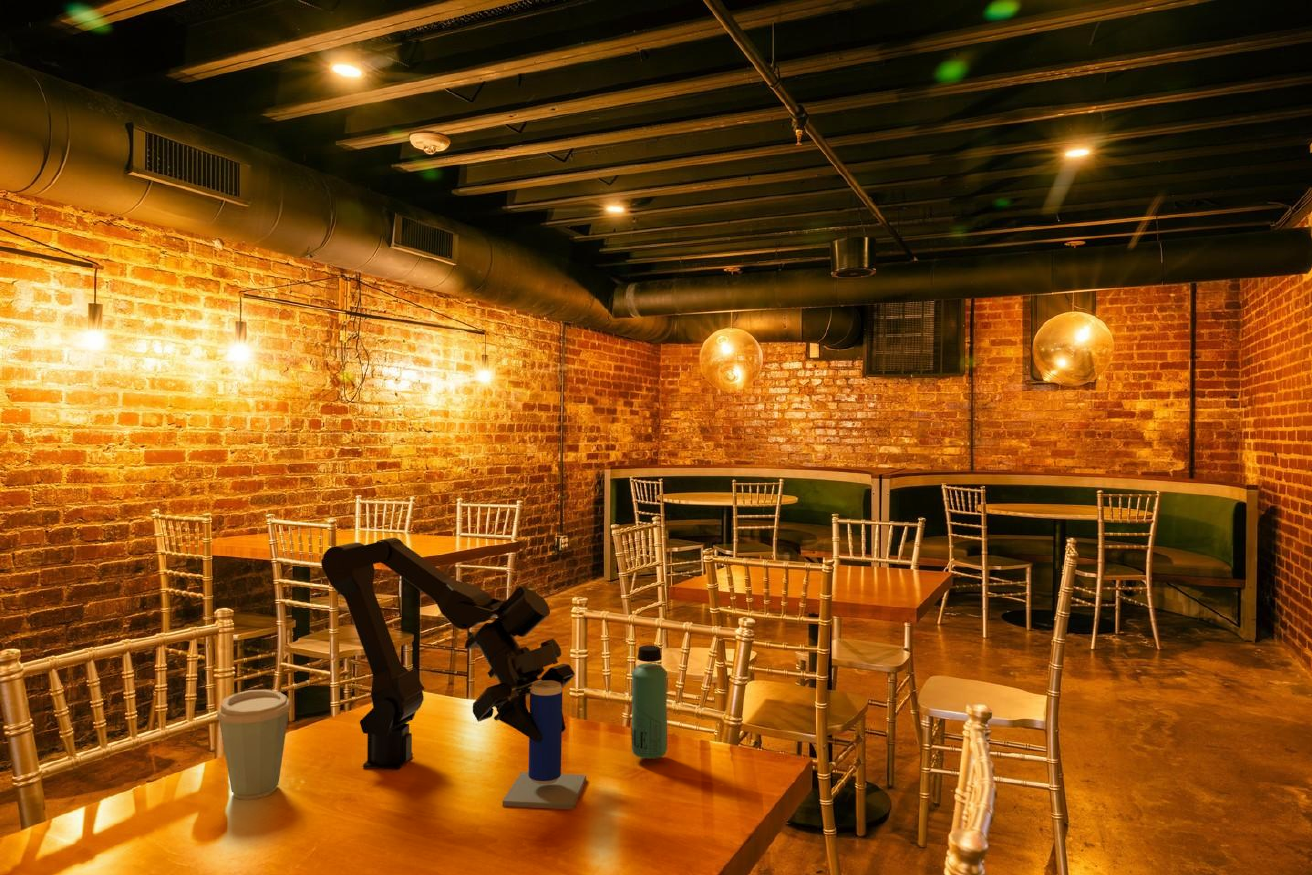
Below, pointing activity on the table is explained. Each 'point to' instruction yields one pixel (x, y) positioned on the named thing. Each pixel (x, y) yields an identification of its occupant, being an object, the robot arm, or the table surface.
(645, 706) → the beverage bottle
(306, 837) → the table surface
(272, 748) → the disposable coffee cup
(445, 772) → the table surface
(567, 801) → the coaster
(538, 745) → the beverage can
